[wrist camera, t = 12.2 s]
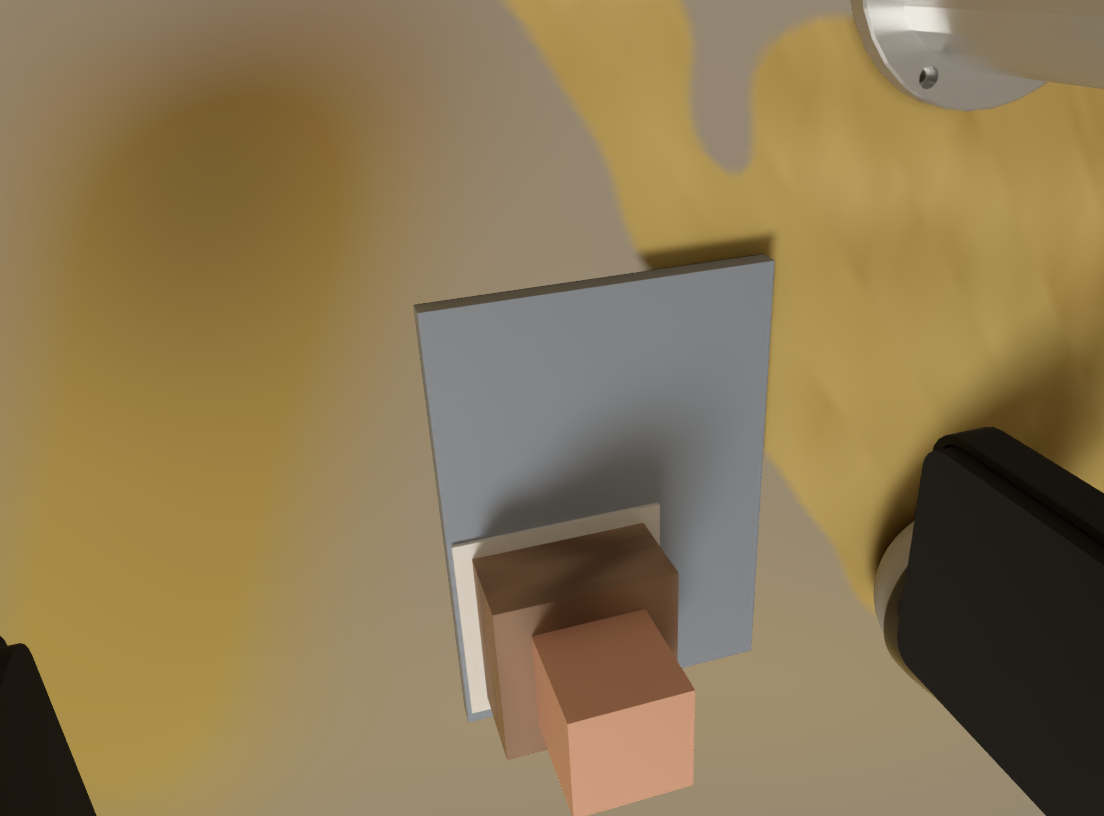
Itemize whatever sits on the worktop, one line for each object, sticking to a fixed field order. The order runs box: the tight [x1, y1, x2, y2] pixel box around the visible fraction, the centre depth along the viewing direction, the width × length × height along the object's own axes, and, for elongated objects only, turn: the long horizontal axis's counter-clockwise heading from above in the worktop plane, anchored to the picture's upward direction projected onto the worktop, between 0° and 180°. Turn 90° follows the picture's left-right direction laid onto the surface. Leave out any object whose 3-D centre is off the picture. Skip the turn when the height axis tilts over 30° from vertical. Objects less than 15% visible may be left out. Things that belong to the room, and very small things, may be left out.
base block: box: [472, 523, 679, 760], centre depth 40 cm, size 8×8×4 cm
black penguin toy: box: [874, 521, 938, 700], centre depth 43 cm, size 10×10×15 cm
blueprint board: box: [413, 254, 775, 722], centre depth 41 cm, size 15×21×1 cm
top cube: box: [531, 609, 695, 816], centre depth 37 cm, size 5×5×5 cm
